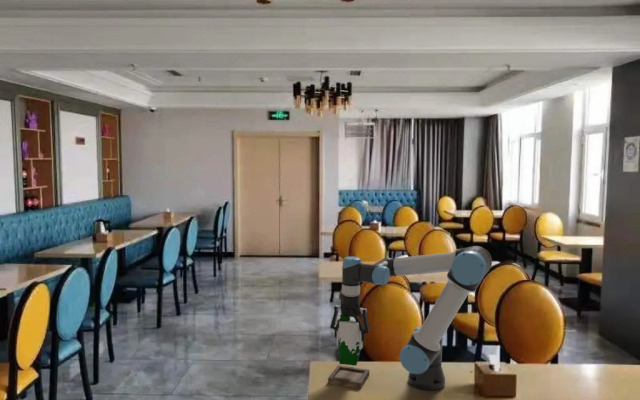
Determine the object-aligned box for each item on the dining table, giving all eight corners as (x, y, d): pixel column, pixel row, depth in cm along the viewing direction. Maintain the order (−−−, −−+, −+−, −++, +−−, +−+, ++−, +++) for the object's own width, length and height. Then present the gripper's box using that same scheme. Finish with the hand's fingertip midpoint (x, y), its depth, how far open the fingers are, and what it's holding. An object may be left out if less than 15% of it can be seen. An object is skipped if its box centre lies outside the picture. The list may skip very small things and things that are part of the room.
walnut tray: (369, 375, 227) (369, 369, 227) (360, 389, 214) (360, 383, 213) (338, 370, 231) (338, 365, 231) (327, 383, 218) (328, 377, 218)
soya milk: (340, 356, 227) (341, 311, 225) (361, 358, 225) (362, 313, 223) (336, 364, 219) (337, 317, 217) (358, 366, 217) (359, 319, 215)
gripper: (378, 294, 219) (377, 347, 221) (328, 289, 226) (327, 340, 228) (374, 299, 212) (372, 353, 214) (322, 293, 219) (321, 346, 221)
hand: (349, 346), depth 221 cm, fingers closed on soya milk, 9 cm apart
